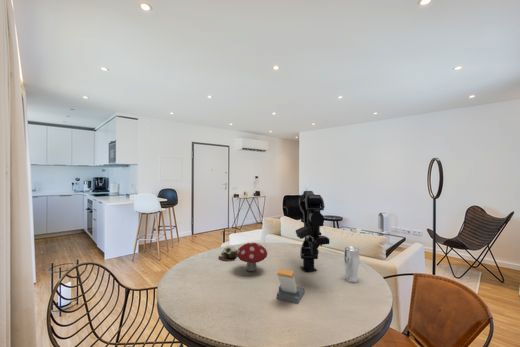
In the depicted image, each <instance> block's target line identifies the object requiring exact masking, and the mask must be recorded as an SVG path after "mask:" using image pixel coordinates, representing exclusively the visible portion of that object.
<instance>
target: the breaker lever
mask: <svg viewBox="0 0 520 347" xmlns="http://www.w3.org/2000/svg"><path fill="white" fill-rule="evenodd" d="M276 272H277V276H278V280H279V283H280V285H281V288H282V291H286V292H290V293H294V294H297V287H296V286H297V283H296V279H295V273H294V270H293V271H292V270H288V269H282V268H278V270H277V271H276Z"/></svg>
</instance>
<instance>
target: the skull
mask: <svg viewBox="0 0 520 347" xmlns="http://www.w3.org/2000/svg"><path fill="white" fill-rule="evenodd" d="M223 248H224V249H223V250H222V251H220V252H221V253H220V254H219V256H218V258H219V260H221V261H226V262H234V261H236V259H237V258H238V256H237V251H238V249H237V248H236V246H234V245H232V244H229V245H226V247H223Z"/></svg>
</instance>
